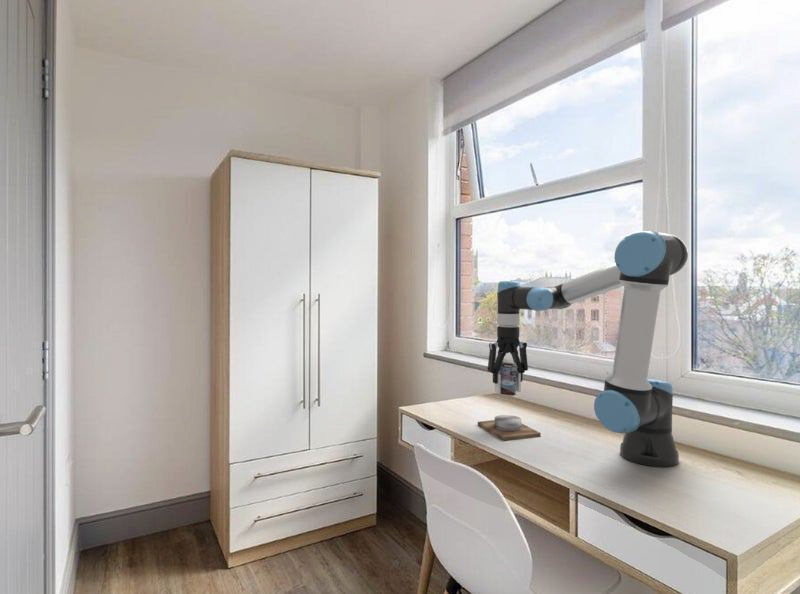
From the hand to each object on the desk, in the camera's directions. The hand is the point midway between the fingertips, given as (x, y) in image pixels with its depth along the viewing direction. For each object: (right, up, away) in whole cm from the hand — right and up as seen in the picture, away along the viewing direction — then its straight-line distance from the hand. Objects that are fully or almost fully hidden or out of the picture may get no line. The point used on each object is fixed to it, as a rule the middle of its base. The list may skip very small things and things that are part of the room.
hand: (507, 391), depth 163 cm
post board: (0, -13, 0) cm, 13 cm away
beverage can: (0, -2, 0) cm, 2 cm away
